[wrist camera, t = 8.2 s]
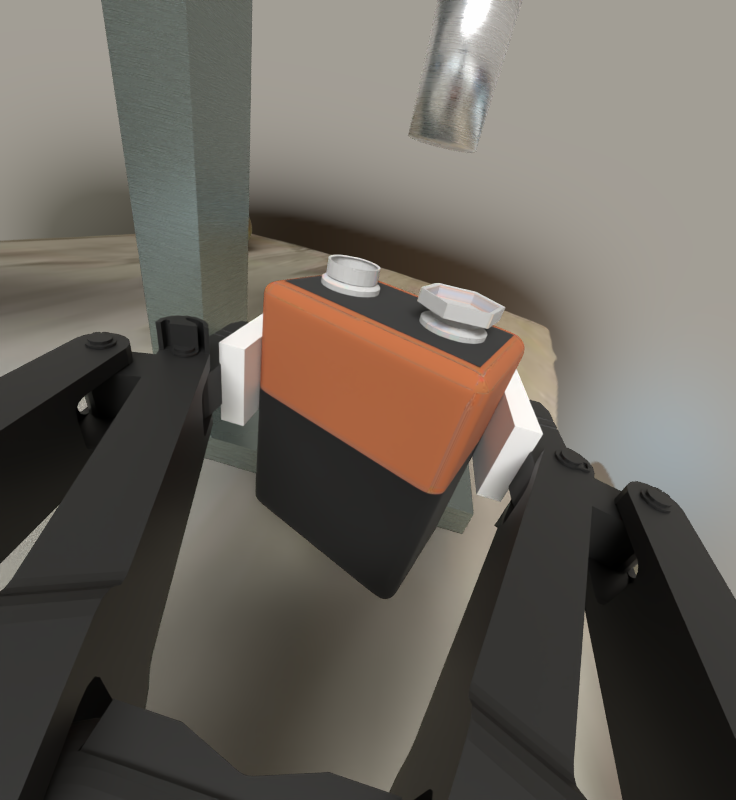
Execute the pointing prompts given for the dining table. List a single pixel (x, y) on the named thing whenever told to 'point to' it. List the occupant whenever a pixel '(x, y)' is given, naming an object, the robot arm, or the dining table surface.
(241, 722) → the dining table surface
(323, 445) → the battery
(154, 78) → the arbor press
